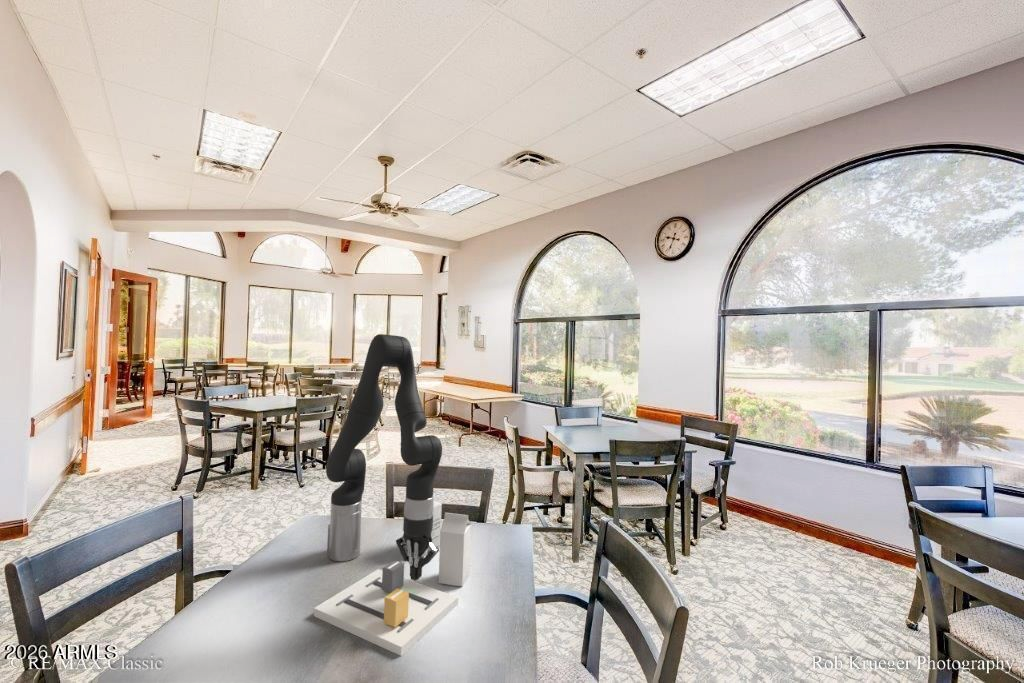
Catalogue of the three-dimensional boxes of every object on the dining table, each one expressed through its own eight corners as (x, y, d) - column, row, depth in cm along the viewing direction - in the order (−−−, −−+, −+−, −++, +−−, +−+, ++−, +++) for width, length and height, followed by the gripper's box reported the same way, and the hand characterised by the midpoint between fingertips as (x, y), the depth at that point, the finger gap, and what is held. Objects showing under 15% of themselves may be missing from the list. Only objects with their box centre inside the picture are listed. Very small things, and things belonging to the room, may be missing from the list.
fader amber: (383, 622, 105) (384, 596, 105) (396, 612, 109) (397, 587, 109) (395, 627, 103) (396, 601, 103) (408, 617, 107) (408, 591, 107)
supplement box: (401, 550, 146) (403, 504, 146) (420, 540, 154) (422, 496, 154) (422, 557, 142) (424, 510, 142) (441, 547, 149) (442, 502, 149)
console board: (313, 616, 110) (314, 606, 110) (378, 575, 130) (378, 568, 130) (401, 656, 98) (401, 645, 98) (457, 604, 117) (458, 596, 117)
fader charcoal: (381, 589, 119) (382, 566, 118) (393, 582, 123) (394, 559, 123) (391, 593, 117) (392, 570, 117) (403, 585, 121) (404, 563, 121)
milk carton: (462, 587, 126) (464, 520, 126) (438, 583, 127) (440, 517, 127) (469, 574, 133) (471, 510, 133) (447, 571, 134) (449, 508, 134)
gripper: (389, 511, 116) (386, 578, 116) (430, 524, 109) (426, 594, 110) (408, 503, 122) (405, 565, 122) (448, 514, 116) (444, 579, 116)
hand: (415, 578), depth 116 cm, fingers closed
